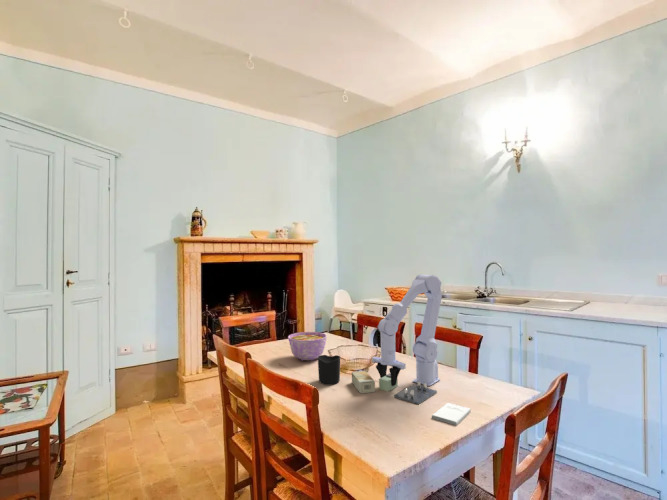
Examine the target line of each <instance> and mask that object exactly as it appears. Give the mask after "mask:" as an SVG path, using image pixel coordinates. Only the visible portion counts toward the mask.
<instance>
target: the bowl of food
mask: <svg viewBox="0 0 667 500" xmlns="http://www.w3.org/2000/svg"><path fill="white" fill-rule="evenodd" d="M327 337H328V335H327V334H326V333H323V332H319V331H301V332H295V333H291V334H288V336H287V339H288V342H289V346H290V350H291V354H292V355H293V356H294V357H295V358H297V359H299V360H300V359H301V360H300V361H303V360H311V361H315V360H316V359H318V357H319V356H321V355H323V353H324V351H325V348H326V342H327ZM315 358H316V359H315ZM314 359H315V360H314Z"/></svg>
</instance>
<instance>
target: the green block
mask: <svg viewBox="0 0 667 500" xmlns="http://www.w3.org/2000/svg"><path fill="white" fill-rule="evenodd" d="M398 382H399V380H398V379H397V381H396V385H394V386H392V385H391V375H390V373H388V374H386V376H384V377H382V378H381V377H379V379H378V389H379V390H381V391H385V392H389V391H391V390H394V389H395V388H397V387H398V386H399V384H398Z"/></svg>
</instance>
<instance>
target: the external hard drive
mask: <svg viewBox="0 0 667 500" xmlns="http://www.w3.org/2000/svg"><path fill="white" fill-rule="evenodd" d="M470 413H471V408H469V407H465V406H462V405H458V404H454V403H452V402H451V403H450V402H446V403H445V404H444V405H442V407H441V408H439V409H438V410H436V411H435V412H434V413H433V414H432V415H431V419H433V420H437V421H440V422H444V423H448V424H450V425H454V426H456V425H457V426H458V425H459V424H460V423H461V422H462V421H463V420H464V419H465V418H466V417H467V416H468V415H469V414H470Z"/></svg>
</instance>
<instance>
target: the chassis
mask: <svg viewBox="0 0 667 500" xmlns="http://www.w3.org/2000/svg"><path fill="white" fill-rule="evenodd" d="M421 385H422V386H421ZM437 393H438V390H436V389H432V388H428V387H427V383H423V384H421V382H420V381H418V382H417V383H416V384H412V385H410V386H408V387H406V388H404V389H403V390H401V391H399V392H398V393H396V394H394V395H393V397H394V398H395V399H399V400H402V401H405V402H408V403H412V404H415V405H420V404H423V402H425V401H427V400H428V399H429V398H431V397H432V396H434V395H436V394H437Z"/></svg>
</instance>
